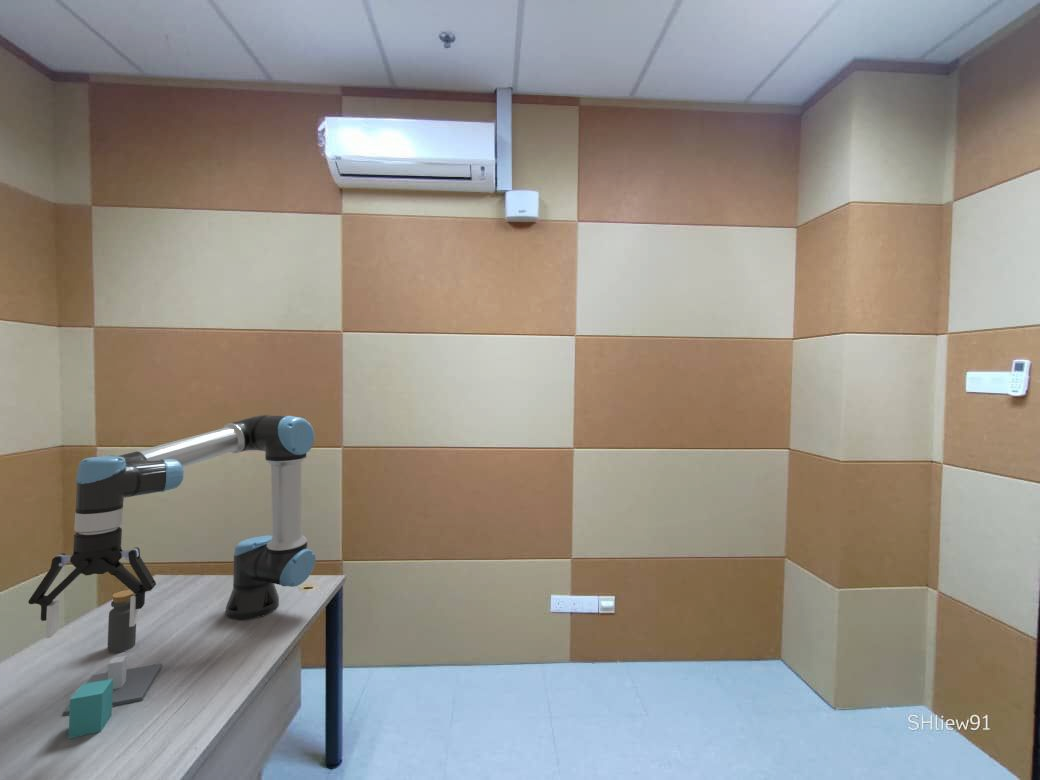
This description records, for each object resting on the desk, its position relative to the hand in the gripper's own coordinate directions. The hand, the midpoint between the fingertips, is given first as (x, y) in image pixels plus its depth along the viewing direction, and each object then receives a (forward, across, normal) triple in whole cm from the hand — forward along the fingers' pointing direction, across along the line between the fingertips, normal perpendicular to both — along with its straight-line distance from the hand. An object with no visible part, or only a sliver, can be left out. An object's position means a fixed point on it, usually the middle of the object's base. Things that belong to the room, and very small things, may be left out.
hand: (93, 629), depth 96 cm
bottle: (+21, +6, -34) cm, 40 cm away
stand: (+21, 0, -13) cm, 25 cm away
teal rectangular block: (+21, 0, 0) cm, 21 cm away
